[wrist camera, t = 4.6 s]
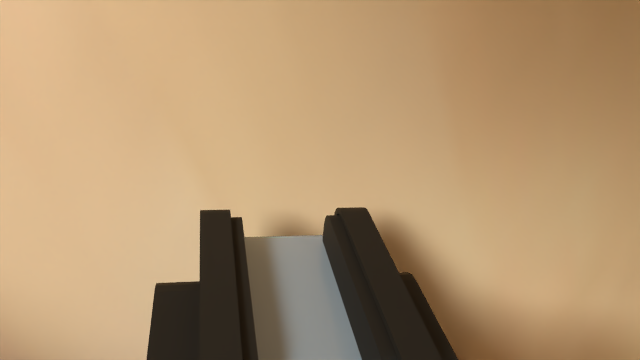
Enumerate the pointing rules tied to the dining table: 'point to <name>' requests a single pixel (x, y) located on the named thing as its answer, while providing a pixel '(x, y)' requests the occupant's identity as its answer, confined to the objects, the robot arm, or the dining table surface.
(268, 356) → the grey-blue mug
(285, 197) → the dining table surface
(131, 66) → the dining table surface
